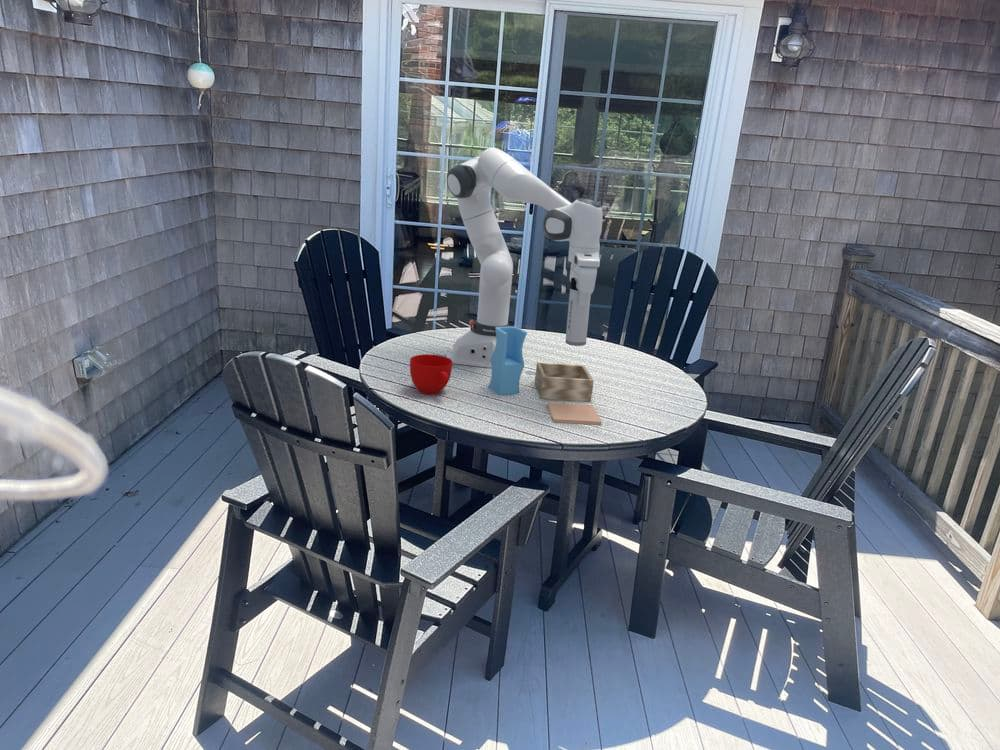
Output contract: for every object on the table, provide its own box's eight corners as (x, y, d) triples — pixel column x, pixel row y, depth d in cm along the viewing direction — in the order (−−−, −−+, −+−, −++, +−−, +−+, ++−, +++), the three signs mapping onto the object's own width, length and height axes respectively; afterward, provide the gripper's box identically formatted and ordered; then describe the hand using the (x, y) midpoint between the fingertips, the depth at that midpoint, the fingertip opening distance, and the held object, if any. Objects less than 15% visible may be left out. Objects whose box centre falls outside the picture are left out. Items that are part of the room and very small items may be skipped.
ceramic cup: (425, 404, 213) (427, 372, 210) (401, 386, 226) (402, 355, 223) (464, 400, 219) (466, 368, 216) (438, 382, 233) (440, 352, 230)
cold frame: (540, 398, 227) (543, 377, 225) (534, 382, 242) (536, 362, 240) (590, 401, 229) (593, 380, 227) (581, 385, 244) (584, 365, 242)
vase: (499, 395, 227) (505, 333, 221) (488, 387, 233) (493, 326, 227) (521, 393, 230) (527, 332, 224) (509, 385, 237) (515, 326, 231)
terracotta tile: (553, 422, 208) (553, 419, 208) (546, 405, 222) (547, 402, 221) (601, 425, 210) (601, 421, 209) (591, 408, 223) (592, 404, 223)
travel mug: (585, 341, 223) (591, 276, 217) (586, 346, 216) (593, 280, 210) (564, 339, 223) (570, 275, 217) (565, 345, 217) (571, 279, 211)
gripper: (567, 250, 221) (563, 295, 225) (579, 261, 202) (574, 309, 206) (587, 251, 222) (582, 296, 226) (601, 262, 202) (596, 310, 206)
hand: (579, 302), depth 216 cm, fingers closed on travel mug, 6 cm apart
